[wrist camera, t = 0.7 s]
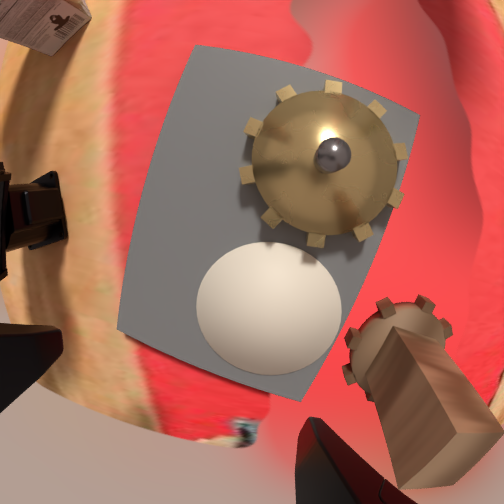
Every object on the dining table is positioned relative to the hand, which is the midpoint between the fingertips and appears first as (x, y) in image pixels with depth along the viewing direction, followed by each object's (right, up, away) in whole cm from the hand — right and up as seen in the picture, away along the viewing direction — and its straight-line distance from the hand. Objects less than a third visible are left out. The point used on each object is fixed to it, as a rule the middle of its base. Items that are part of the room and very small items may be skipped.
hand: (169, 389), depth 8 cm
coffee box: (-18, +30, +10) cm, 36 cm away
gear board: (+3, +6, +12) cm, 13 cm away
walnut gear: (+14, -3, +12) cm, 19 cm away
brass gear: (+7, +10, +9) cm, 15 cm away
